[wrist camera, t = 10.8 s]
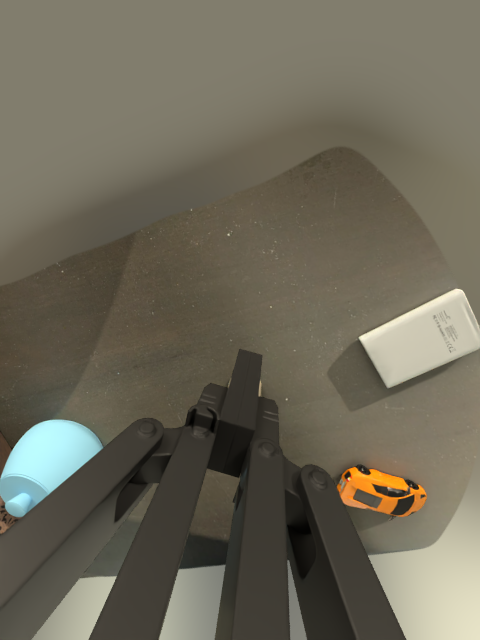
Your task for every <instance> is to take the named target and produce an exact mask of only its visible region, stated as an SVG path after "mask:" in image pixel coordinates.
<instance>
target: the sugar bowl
mask: <svg viewBox="0 0 480 640" xmlns="http://www.w3.org/2000/svg"><path fill="white" fill-rule="evenodd" d="M102 449H103V446H102V444H101V442H100V440H99V439H98V437H97V436H96V435H95V434H94V433H93V432H92V431H91V430H89V429H88V428H86V427H85V426H83V425H81V424H79V423H76V422H74V421H69V420H48V421H44V422H41V423H39V424H36V425H35V426H33V427H32V428H31V429H29V430H28V431H27V432H26V433H25V434H24V435H23V436H22V438H21V439H20V440H19V441H18V443H17V444H16V445H15V447H14V448H13V450H12V452H11V453H10V455H9V457H8V460H7V462H6V465H5V467H4V470H3V472H2V475H1V478H0V496H1V498H2V499H3V501H4V502H5V503H6V504H5V509H6V510H7V512H8V513H9V514H11V515H12V516H15V517H23V516H24V515H25V514H26V513H27V512H29V511H30V510H31V509H32V508H33V507H34V506H36V505H37V504H38V503H39V502H40V501H42V500H43V499H44V498H45V497H46V496H47V495H49V494H50V493H51V492H52V491H53V490H54V489H56V488H57V487H58V486H59V485H60V484H62V483H63V482H64V481H65V480H66V479H67V478H69V477H70V476H71V475H72V474H73V473H75V472H76V471H77V470H78V469H79V468H80V467H82V466H83V465H84V464H85V463H86V462H87V461H89V460H90V459H91V458H92V457H93V456H95V455H96V454H97V453H98V452H99V451H100V450H102Z"/></svg>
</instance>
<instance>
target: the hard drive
mask: <svg viewBox="0 0 480 640" xmlns="http://www.w3.org/2000/svg"><path fill="white" fill-rule="evenodd" d="M358 339H359V340H360V342H361V344H362V346H363V347H364V349H365V351H366V353H367V354H368V356H369V358H370V360H371V361H372V363H373V365H374V367H375V368H376V370H377V372H378V374H379V375H380V377H381V379H382V381H383V382H384V384H385V386H386V387H387V388H390V387H393V386H395V385H397V384H400V383H402V382H404V381H407V380H409V379H411V378H413V377H416V376H418V375H420V374H423V373H425V372H427V371H430V370H432V369H434V368H436V367H439V366H441V365H443V364H446V363H448V362H450V361H453V360H455V359H457V358H459V357H462V356H464V355H466V354H469V353H471V352H473V351H475V350H478V349H480V327H479V325H478V323H477V320H476V318H475V316H474V314H473V311H472V309H471V307H470V305H469V303H468V300H467V298H466V296H465V294H464V292H463V291H462V290H460V289H454V290H452V291H450V292H448V293H446V294H444V295H442V296H439V297H437V298H435V299H433V300H431V301H429V302H427V303H426V304H423V305H421V306H419V307H417V308H415V309H414V310H411V311H410V312H407V313H405V314H404V315H402V316H400V317H398V318H396V319H394V320H392V321H390V322H388V323H386V324H384V325H382V326H380V327H378V328H376V329H374V330H372V331H370V332H368V333H366V334H364V335H362V336H360V337H358Z"/></svg>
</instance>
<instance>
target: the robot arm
mask: <svg viewBox="0 0 480 640" xmlns="http://www.w3.org/2000/svg"><path fill="white" fill-rule="evenodd" d="M261 365H262V355H260V354H256V353H253V352H249V351H246V350H242V349H239V353H238V356H237V360H236V363H235V367H234V370H233V373H232V377H231V380H230V384H229V387H228V388H226V387H223V386H219V385H216V384H212V383H210V384H209V385H207V386H206V387H204V390H203V392H202V395H201V397H200V399H199V401H198V403H197V405H194V406H192V407H191V408H190V409H189V410H188V414H187V419H186V424H185V425H184V426H182V427H179V428H164V427H163V425H162V423H160V422H159V421H158V420H156V419H153V418H143V419H139V420H137V421H135V422H134V423H132V424H131V425H130V426H129V427H127V428H126V429H125V430H124V431H123V432H122V433H120V434H119V435H118V436H117V437H116V438H115V439H113V440H112V441H111V442H110V443H109V444H107V445H106V446H105V447H104V448H103V449H102V450H100V451H99V452H98V453H97V454H96V455H95V456H93V457H92V458H91V459H90V460H89V461H87V462H86V463H85V464H84V465H83V466H82V467H80V468H79V469H78V470H77V471H76V472H75V473H73V474H72V475H71V476H70V477H69V478H67V479H66V480H65V481H64V482H63V483H62V484H60V485H59V486H58V487H57V488H56V489H54V490H53V491H52V492H51V493H50V494H49V495H47V496H46V497H45V498H44V499H43V500H42V501H40V502H39V503H38V504H37V505H36V506H34V507H33V508H32V509H31V510H30V511H29V512H27V513H26V514H25V515H24V516H23V517H22V518H20V519H19V520H18V521H17V522H16V523H14V524H13V525H12V526H11V527H10V528H9V529H7V530H6V531H5V532H4V533H3V534H2V535H0V640H31V639H32V638H33V637H34V635H35V634H36V633H37V631H38V630H39V629H40V628H41V627H42V625H43V624H44V623H45V621H46V620H47V619H48V617H49V616H50V615H51V614H52V613H53V611H54V610H55V609H56V607H57V606H58V605H59V604H60V602H61V601H62V600H63V598H64V597H65V596H66V595H67V593H68V592H69V591H70V590H71V588H72V587H73V586H74V585H75V583H76V582H77V581H78V579H79V578H80V577H81V576H82V574H83V573H84V572H85V571H86V569H87V568H88V567H89V565H90V564H91V563H92V562H93V560H94V559H95V558H96V557H97V555H98V554H99V553H100V551H101V550H102V549H103V548H104V546H105V545H106V544H107V543H108V541H109V540H110V539H111V537H112V536H113V535H114V534H115V532H116V531H117V530H118V529H119V527H120V526H121V525H122V523H123V522H124V521H125V520H126V518H127V517H128V516H129V515H130V513H131V512H132V511H133V509H134V508H135V507H136V506H137V504H138V503H139V502H140V501H141V499H142V498H143V497H144V495H145V494H146V493H147V492H148V490H149V489H150V488H151V487H152V485H153V483H159V485H158V487H157V489H156V491H155V494H154V496H153V498H152V500H151V503H150V505H149V507H148V509H147V511H146V514H145V516H144V518H143V520H142V522H141V525H140V527H139V529H138V531H137V534H136V536H135V538H134V540H133V542H132V545H131V547H130V549H129V551H128V553H127V556H126V558H125V560H124V562H123V565H122V567H121V569H120V571H119V573H118V576H117V578H116V580H115V582H114V585H113V587H112V589H111V591H110V593H109V596H108V598H107V600H106V602H105V605H104V607H103V609H102V611H101V613H100V616H99V618H98V620H97V622H96V624H95V627H94V629H93V631H92V633H91V635H90V638H89V640H159V637H160V634H161V630H162V626H163V623H164V619H165V616H166V612H167V608H168V605H169V601H170V598H171V594H172V590H173V587H174V584H175V580H176V576H177V573H178V569H179V566H180V562H181V559H182V555H183V551H184V548H185V544H186V541H187V537H188V534H189V530H190V526H191V523H192V519H193V516H194V512H195V509H196V505H197V501H198V498H199V494H200V491H201V487H202V484H203V480H204V476H205V473H206V469H207V468H208V469H211V470H214V471H218V472H221V473H224V474H228V475H231V476H234V477H238V478H239V477H240V482H239V485H238V488H237V491H236V494H235V497H234V499H233V503H235V505H234V512H233V519H232V526H231V533H230V539H229V546H228V553H227V560H226V567H225V573H224V581H223V587H222V594H221V600H220V607H219V614H218V621H217V628H216V635H215V640H290V625H289V624H290V623H289V596H288V569H287V553H288V557H289V562H290V566H291V570H292V575H293V579H294V583H295V588H296V592H297V597H298V601H299V606H300V610H301V614H302V619H303V623H304V628H305V631H306V636H307V640H406V638H405V636H404V634H403V631H402V629H401V627H400V625H399V623H398V621H397V618H396V616H395V614H394V612H393V610H392V608H391V606H390V603H389V601H388V599H387V597H386V595H385V592H384V590H383V588H382V586H381V584H380V581H379V579H378V577H377V575H376V573H375V571H374V568H373V566H372V564H371V562H370V560H369V558H368V555H367V553H366V551H365V549H364V547H363V544H362V542H361V540H360V538H359V536H358V534H357V531H356V529H355V527H354V525H353V523H352V521H351V518H350V516H349V514H348V512H347V510H346V508H345V505H344V503H343V501H342V499H341V497H340V494H339V492H338V490H337V488H336V486H335V484H334V481H333V480H332V478H331V477H330V475H329V474H328V473H327V472H326V471H325V470H324V469H322V468H320V467H318V466H316V465H312V464H311V465H305V466H304V467H303V468H302V469H301V468H300V467H298V466H296V465H295V464H293V463H292V462H290V461H289V460H288V459H287V458H286V457H285V456H284V455H283V452H282V449H281V448H280V446H279V422H278V421H279V419H278V406H277V405H276V403H275V401H274V400H271V399H267V398H264V397H260V396H259V386H260V375H261ZM240 474H241V476H240Z"/></svg>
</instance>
